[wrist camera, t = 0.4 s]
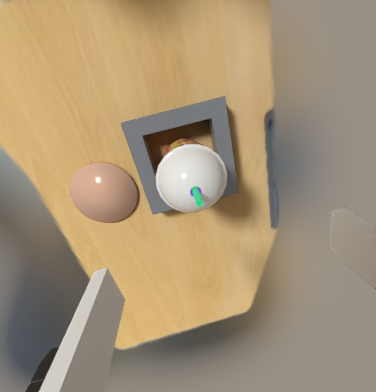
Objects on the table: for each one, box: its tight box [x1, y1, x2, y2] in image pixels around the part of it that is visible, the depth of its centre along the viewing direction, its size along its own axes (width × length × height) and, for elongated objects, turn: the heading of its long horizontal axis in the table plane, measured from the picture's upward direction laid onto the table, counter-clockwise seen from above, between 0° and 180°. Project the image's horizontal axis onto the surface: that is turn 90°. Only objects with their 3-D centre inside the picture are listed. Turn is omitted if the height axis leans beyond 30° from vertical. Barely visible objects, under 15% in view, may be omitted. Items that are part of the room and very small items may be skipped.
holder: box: [121, 96, 239, 214], centre depth 34 cm, size 16×16×4 cm
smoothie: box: [156, 139, 227, 213], centre depth 26 cm, size 8×8×20 cm
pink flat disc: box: [70, 162, 138, 223], centre depth 36 cm, size 12×12×1 cm
